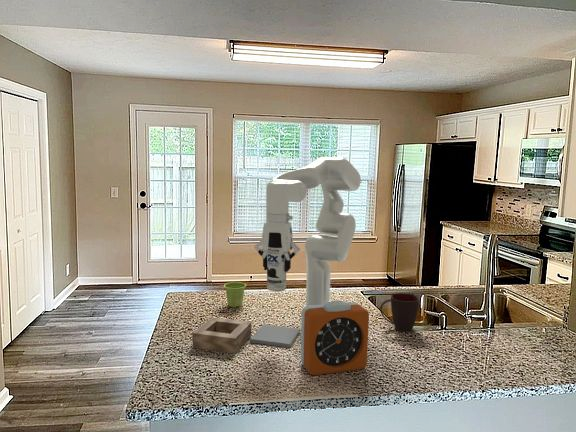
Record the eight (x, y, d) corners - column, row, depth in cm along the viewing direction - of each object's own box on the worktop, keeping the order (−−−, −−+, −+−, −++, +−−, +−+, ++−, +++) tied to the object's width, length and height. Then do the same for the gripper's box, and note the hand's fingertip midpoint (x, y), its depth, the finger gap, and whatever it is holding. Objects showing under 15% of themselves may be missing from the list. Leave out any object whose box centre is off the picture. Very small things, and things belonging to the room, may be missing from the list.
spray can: (263, 289, 154) (263, 231, 151) (272, 284, 160) (273, 229, 157) (280, 292, 151) (280, 233, 148) (289, 287, 157) (290, 230, 154)
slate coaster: (299, 331, 163) (300, 328, 162) (289, 347, 149) (289, 344, 149) (262, 327, 166) (263, 324, 166) (249, 342, 153) (250, 338, 153)
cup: (420, 334, 162) (422, 302, 161) (381, 333, 163) (383, 301, 161) (413, 324, 172) (415, 293, 170) (376, 323, 172) (378, 292, 171)
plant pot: (220, 307, 187) (219, 287, 186) (229, 300, 196) (229, 281, 195) (240, 309, 184) (241, 289, 183) (249, 302, 193) (249, 283, 192)
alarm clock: (309, 377, 130) (310, 308, 127) (299, 363, 138) (301, 298, 135) (367, 369, 135) (370, 303, 132) (355, 356, 143) (357, 294, 140)
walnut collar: (251, 335, 158) (251, 321, 158) (235, 353, 144) (235, 338, 143) (211, 330, 162) (211, 317, 162) (192, 347, 148) (192, 332, 147)
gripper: (304, 218, 153) (303, 269, 156) (256, 215, 158) (256, 265, 160) (299, 221, 146) (298, 275, 149) (249, 218, 151) (249, 270, 153)
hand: (276, 269), depth 155 cm, fingers closed on spray can, 6 cm apart
